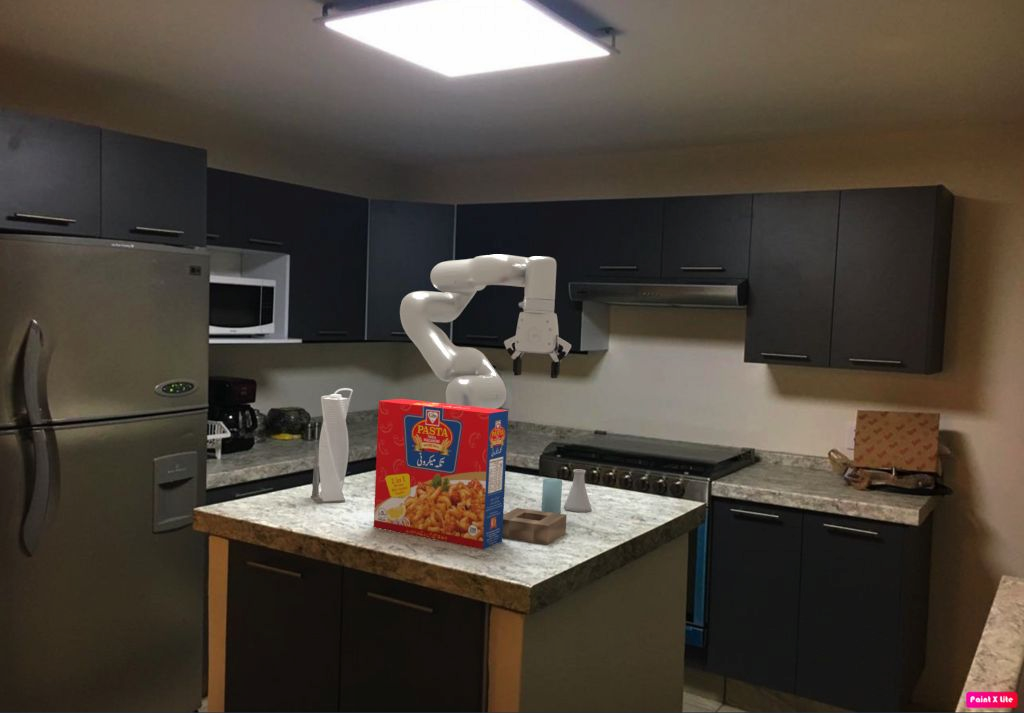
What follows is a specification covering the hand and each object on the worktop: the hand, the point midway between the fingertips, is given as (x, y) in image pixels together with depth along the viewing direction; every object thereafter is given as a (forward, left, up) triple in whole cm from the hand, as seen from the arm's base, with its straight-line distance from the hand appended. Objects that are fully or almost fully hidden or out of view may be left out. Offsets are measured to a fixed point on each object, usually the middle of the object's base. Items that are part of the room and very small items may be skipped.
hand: (535, 376), depth 208 cm
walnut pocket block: (+9, -22, -33) cm, 41 cm away
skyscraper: (-46, -18, -34) cm, 60 cm away
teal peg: (+9, -9, -33) cm, 36 cm away
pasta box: (-9, -33, -34) cm, 48 cm away
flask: (+10, +8, -34) cm, 36 cm away
